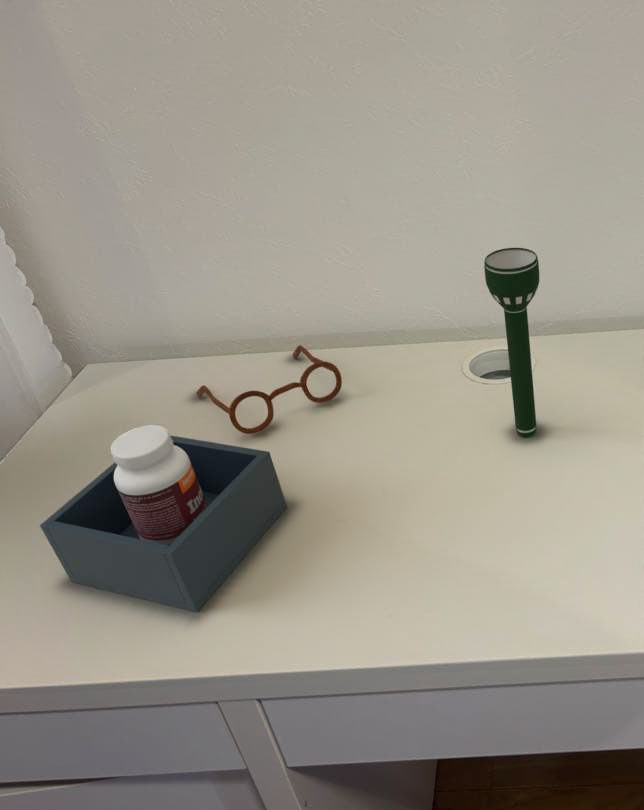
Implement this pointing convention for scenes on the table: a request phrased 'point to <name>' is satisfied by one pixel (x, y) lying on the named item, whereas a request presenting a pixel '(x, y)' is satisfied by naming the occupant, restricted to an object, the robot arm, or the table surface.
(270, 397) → the glasses
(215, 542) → the bin
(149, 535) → the pill bottle
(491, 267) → the flashlight
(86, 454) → the table surface
